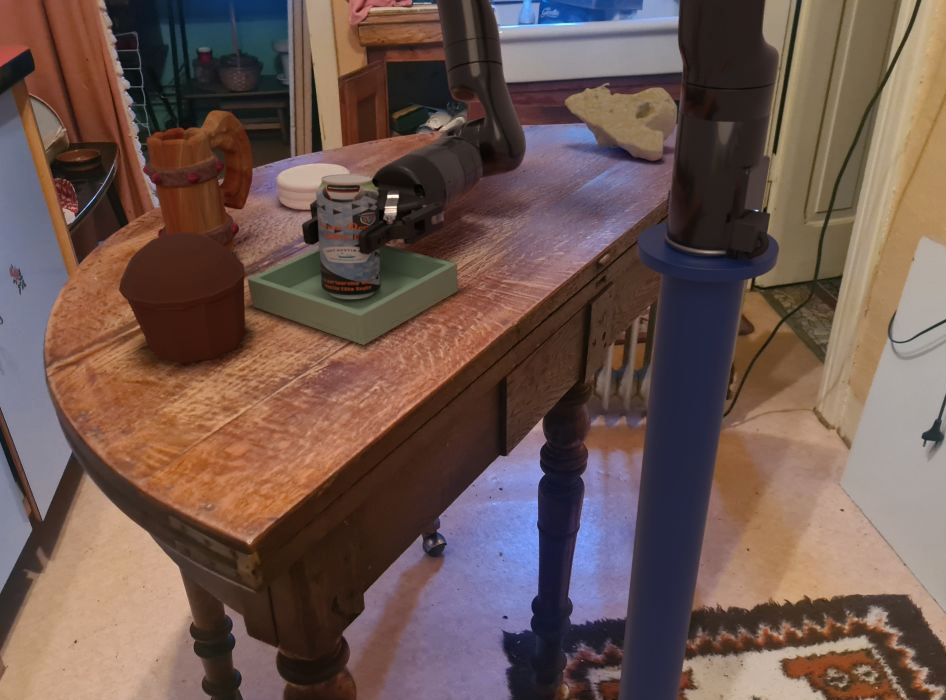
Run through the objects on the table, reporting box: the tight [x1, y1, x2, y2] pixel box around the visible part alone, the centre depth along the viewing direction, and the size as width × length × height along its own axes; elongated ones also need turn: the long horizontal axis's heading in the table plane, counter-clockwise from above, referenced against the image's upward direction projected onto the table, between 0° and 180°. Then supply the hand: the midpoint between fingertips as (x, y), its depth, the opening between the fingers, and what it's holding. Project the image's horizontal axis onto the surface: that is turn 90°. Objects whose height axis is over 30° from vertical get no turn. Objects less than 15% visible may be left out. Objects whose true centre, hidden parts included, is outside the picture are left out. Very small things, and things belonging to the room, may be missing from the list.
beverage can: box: [316, 173, 381, 299], centre depth 85 cm, size 6×7×12 cm
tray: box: [247, 244, 459, 346], centre depth 88 cm, size 16×15×3 cm
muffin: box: [118, 233, 246, 364], centre depth 79 cm, size 12×11×10 cm
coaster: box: [275, 163, 352, 211], centre depth 115 cm, size 10×10×4 cm
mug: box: [142, 109, 254, 254], centre depth 97 cm, size 15×8×15 cm, turn 151°
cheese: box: [564, 82, 678, 162], centre depth 129 cm, size 15×7×15 cm
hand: (334, 239), depth 83 cm, fingers closed on beverage can, 6 cm apart
